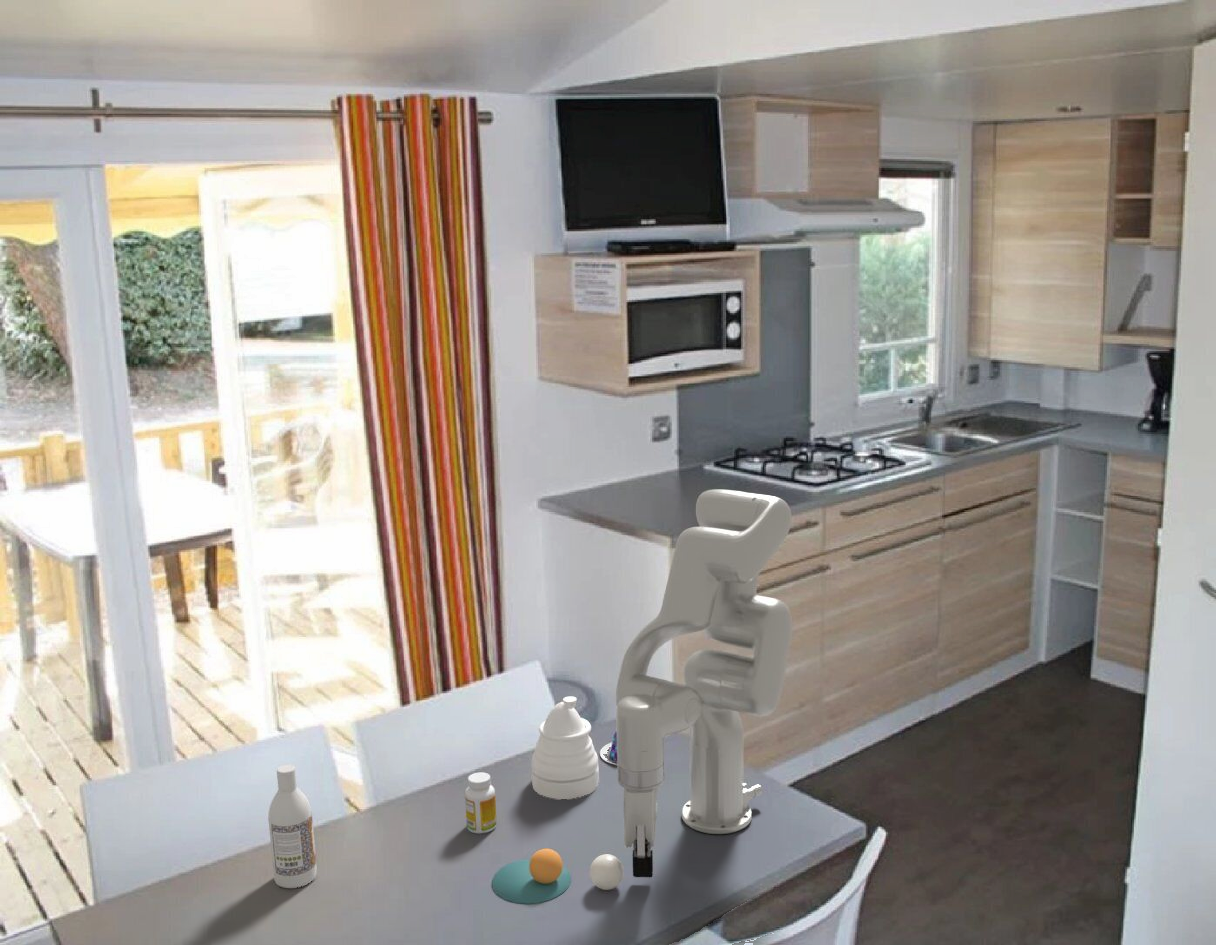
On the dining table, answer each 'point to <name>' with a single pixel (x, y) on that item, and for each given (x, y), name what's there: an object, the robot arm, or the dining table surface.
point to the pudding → (612, 752)
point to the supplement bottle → (480, 804)
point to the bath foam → (291, 833)
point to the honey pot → (564, 755)
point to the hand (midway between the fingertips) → (642, 874)
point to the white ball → (606, 872)
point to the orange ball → (545, 866)
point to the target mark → (527, 884)
